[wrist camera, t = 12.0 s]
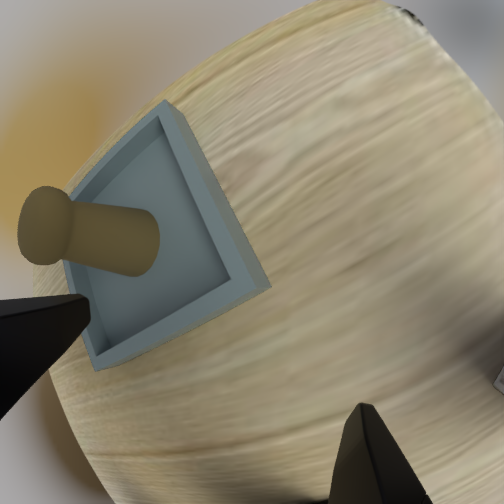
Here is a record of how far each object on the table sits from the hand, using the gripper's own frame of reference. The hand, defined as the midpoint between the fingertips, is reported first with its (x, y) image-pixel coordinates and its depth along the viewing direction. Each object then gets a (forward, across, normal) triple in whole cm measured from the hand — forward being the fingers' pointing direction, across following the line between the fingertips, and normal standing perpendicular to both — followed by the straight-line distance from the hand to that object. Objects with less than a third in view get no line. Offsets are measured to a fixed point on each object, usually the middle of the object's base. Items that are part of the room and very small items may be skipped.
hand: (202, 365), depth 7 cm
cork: (+13, +13, +3) cm, 19 cm away
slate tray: (+14, +13, +3) cm, 19 cm away
